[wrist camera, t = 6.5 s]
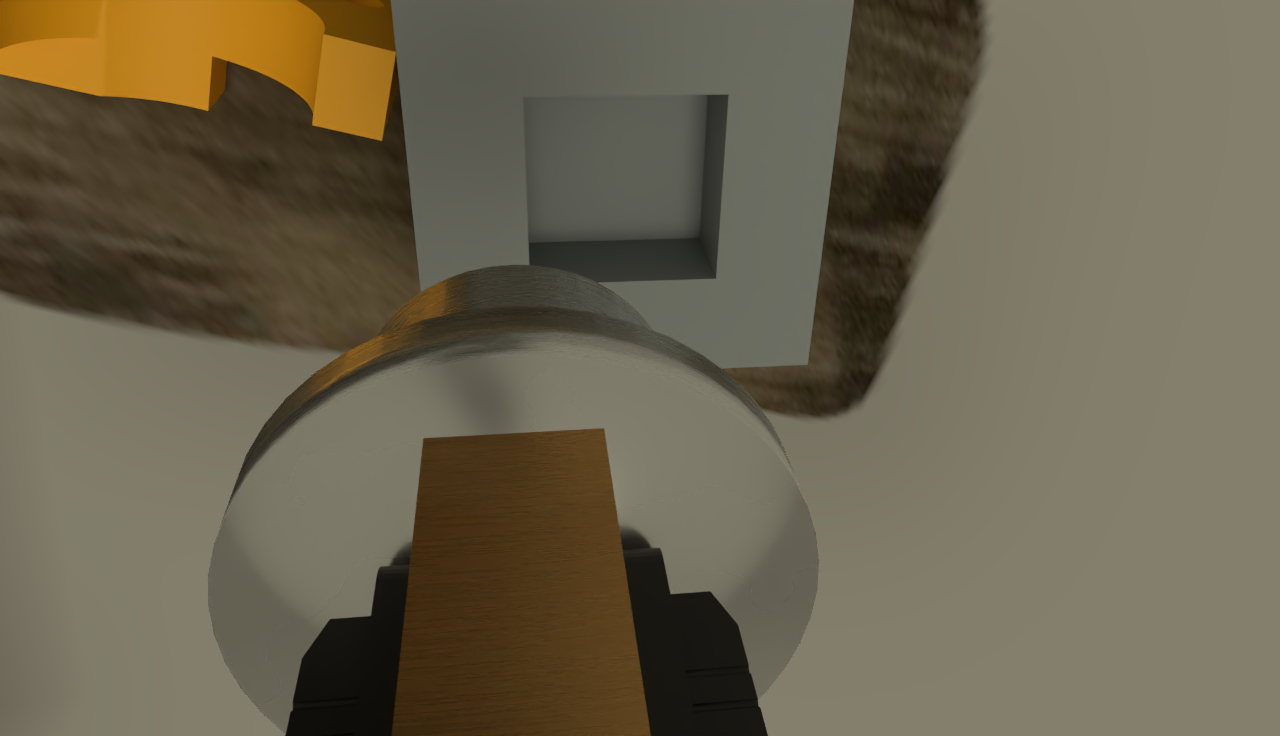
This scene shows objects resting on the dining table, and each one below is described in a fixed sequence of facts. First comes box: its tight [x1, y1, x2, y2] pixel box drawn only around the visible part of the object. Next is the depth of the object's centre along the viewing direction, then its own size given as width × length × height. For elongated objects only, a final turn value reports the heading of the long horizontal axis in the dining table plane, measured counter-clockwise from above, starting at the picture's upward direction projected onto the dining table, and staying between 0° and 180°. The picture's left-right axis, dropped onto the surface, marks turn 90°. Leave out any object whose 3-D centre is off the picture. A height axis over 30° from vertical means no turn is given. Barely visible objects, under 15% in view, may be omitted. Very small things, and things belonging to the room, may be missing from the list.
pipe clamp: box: [0, 0, 399, 141], centre depth 30 cm, size 12×4×6 cm, turn 74°
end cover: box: [208, 265, 819, 736], centre depth 11 cm, size 7×7×9 cm
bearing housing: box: [391, 0, 854, 368], centre depth 32 cm, size 12×12×8 cm
